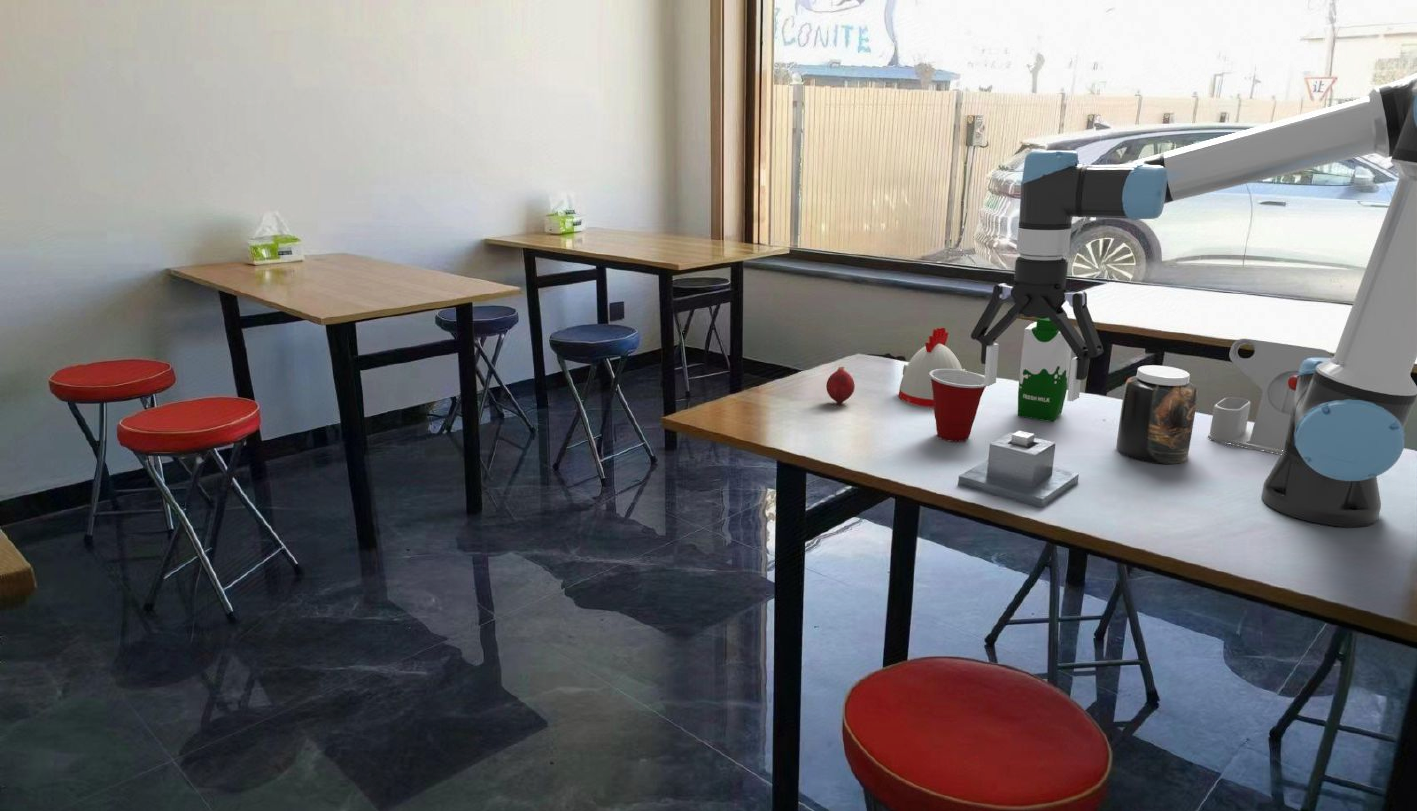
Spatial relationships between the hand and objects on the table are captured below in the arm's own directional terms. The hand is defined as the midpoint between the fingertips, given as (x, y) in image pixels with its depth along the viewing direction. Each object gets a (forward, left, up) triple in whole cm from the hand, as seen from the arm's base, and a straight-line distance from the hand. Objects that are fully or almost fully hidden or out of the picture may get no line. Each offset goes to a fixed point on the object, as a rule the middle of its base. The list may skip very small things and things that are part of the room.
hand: (1030, 391), depth 145 cm
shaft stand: (0, 0, -16) cm, 16 cm away
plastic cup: (+19, -14, -16) cm, 29 cm away
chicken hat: (+35, -34, -16) cm, 52 cm away
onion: (+47, -17, -16) cm, 53 cm away
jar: (-11, -30, -16) cm, 36 cm away
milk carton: (+13, -38, -16) cm, 43 cm away
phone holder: (-24, -49, -16) cm, 57 cm away
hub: (0, 0, -14) cm, 14 cm away
